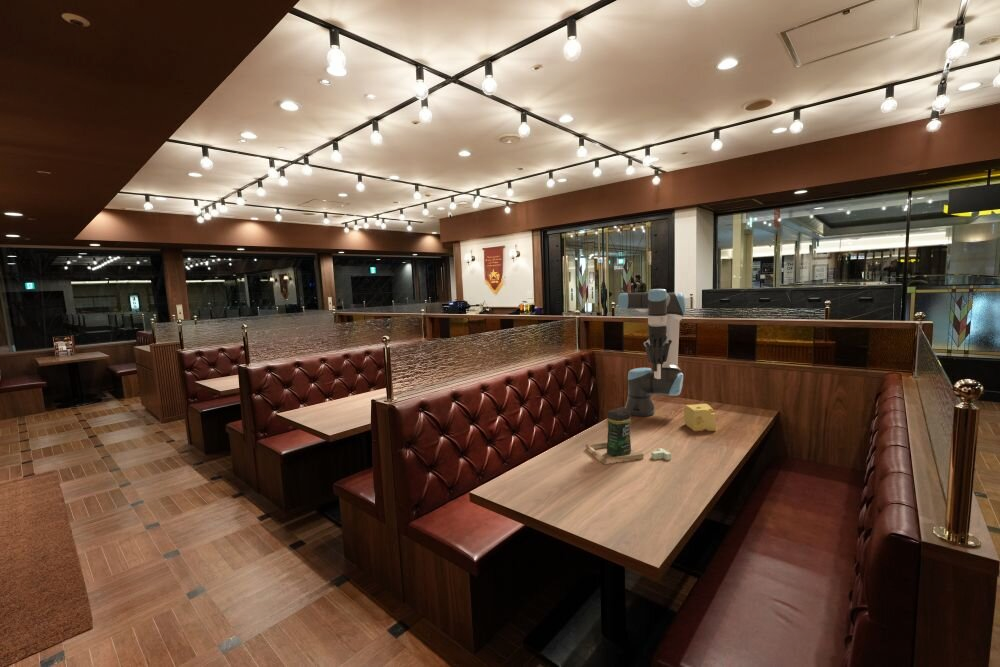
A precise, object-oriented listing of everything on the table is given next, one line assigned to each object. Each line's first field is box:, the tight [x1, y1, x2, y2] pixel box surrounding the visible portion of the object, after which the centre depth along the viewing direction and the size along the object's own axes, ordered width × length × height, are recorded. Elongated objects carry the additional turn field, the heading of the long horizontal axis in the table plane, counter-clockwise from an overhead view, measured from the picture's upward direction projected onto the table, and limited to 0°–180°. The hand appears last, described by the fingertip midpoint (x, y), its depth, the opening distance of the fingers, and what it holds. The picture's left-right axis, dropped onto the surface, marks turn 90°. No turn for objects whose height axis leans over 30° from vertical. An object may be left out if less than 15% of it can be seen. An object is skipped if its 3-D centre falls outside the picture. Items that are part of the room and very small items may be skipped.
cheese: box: [683, 403, 717, 432], centre depth 201 cm, size 10×11×10 cm
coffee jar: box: [606, 406, 632, 457], centre depth 175 cm, size 10×8×19 cm
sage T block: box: [650, 447, 672, 461], centre depth 170 cm, size 6×6×2 cm
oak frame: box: [585, 441, 644, 465], centre depth 175 cm, size 16×17×2 cm
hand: (657, 378), depth 189 cm, fingers closed
